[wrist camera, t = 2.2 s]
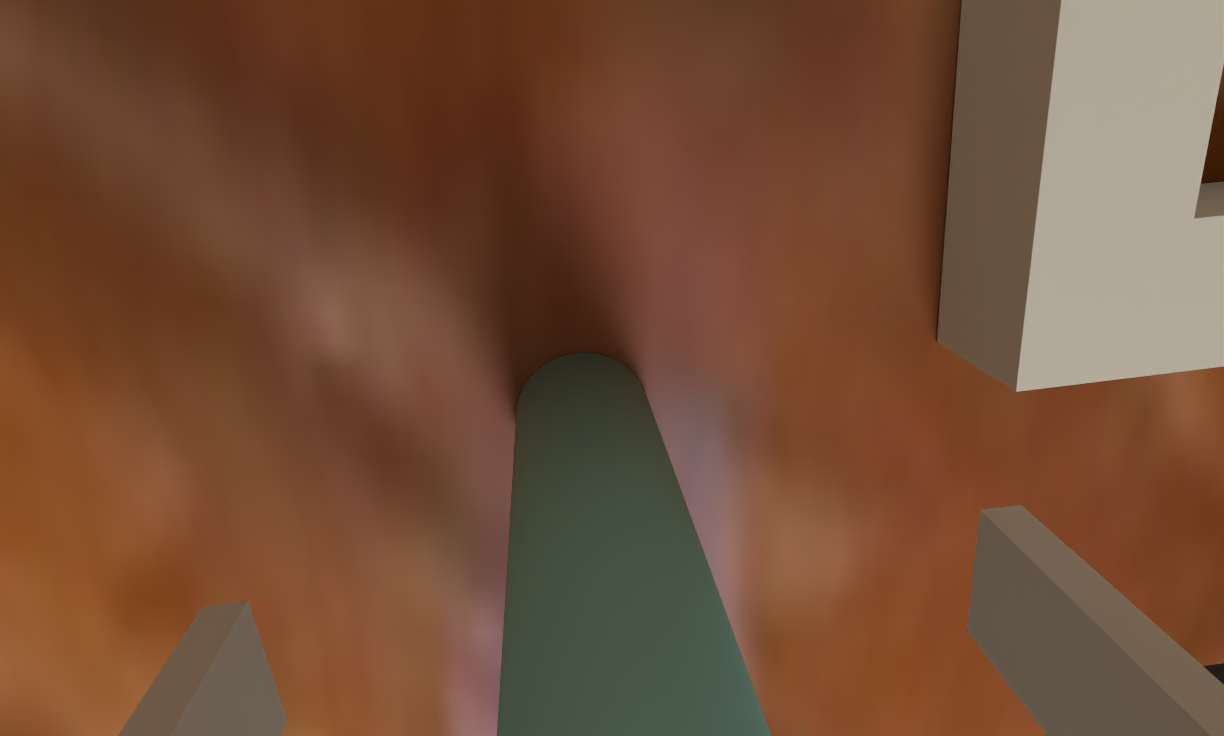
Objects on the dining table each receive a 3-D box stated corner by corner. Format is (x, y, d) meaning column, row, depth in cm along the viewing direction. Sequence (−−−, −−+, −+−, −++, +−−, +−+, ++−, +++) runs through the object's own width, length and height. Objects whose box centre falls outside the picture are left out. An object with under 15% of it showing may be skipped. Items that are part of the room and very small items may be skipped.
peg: (525, 481, 23) (509, 1087, 9) (507, 360, 22) (455, 856, 8) (652, 465, 23) (830, 1032, 9) (643, 344, 22) (838, 798, 8)
